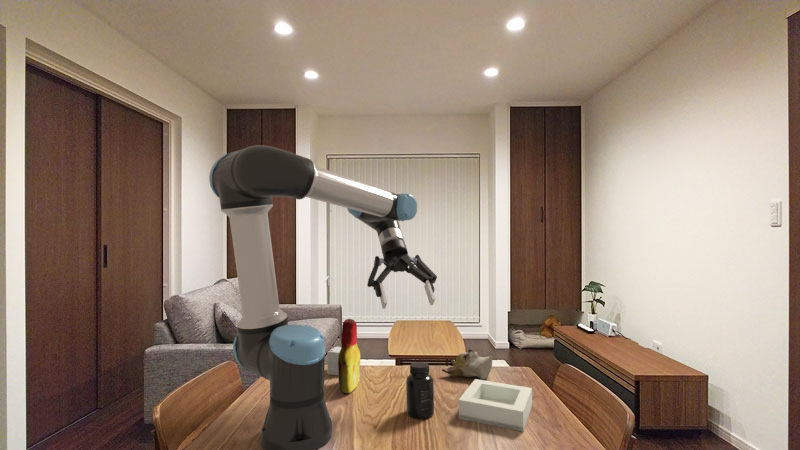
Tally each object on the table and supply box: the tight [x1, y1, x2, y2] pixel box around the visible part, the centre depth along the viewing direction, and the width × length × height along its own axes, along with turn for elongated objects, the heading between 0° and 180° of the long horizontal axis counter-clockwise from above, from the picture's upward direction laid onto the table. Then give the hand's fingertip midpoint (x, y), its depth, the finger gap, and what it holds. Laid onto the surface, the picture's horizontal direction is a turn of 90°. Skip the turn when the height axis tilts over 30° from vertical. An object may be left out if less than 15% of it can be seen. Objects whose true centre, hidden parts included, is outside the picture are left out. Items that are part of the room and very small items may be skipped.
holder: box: [458, 378, 533, 433], centre depth 98 cm, size 15×15×4 cm
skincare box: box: [326, 346, 342, 376], centre depth 127 cm, size 6×6×7 cm
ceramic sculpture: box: [441, 348, 493, 381], centre depth 123 cm, size 11×9×15 cm
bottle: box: [338, 318, 361, 394], centre depth 114 cm, size 12×6×20 cm, turn 177°
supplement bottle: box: [405, 361, 435, 420], centre depth 97 cm, size 7×7×12 cm
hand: (409, 304), depth 106 cm, fingers open, 13 cm apart
